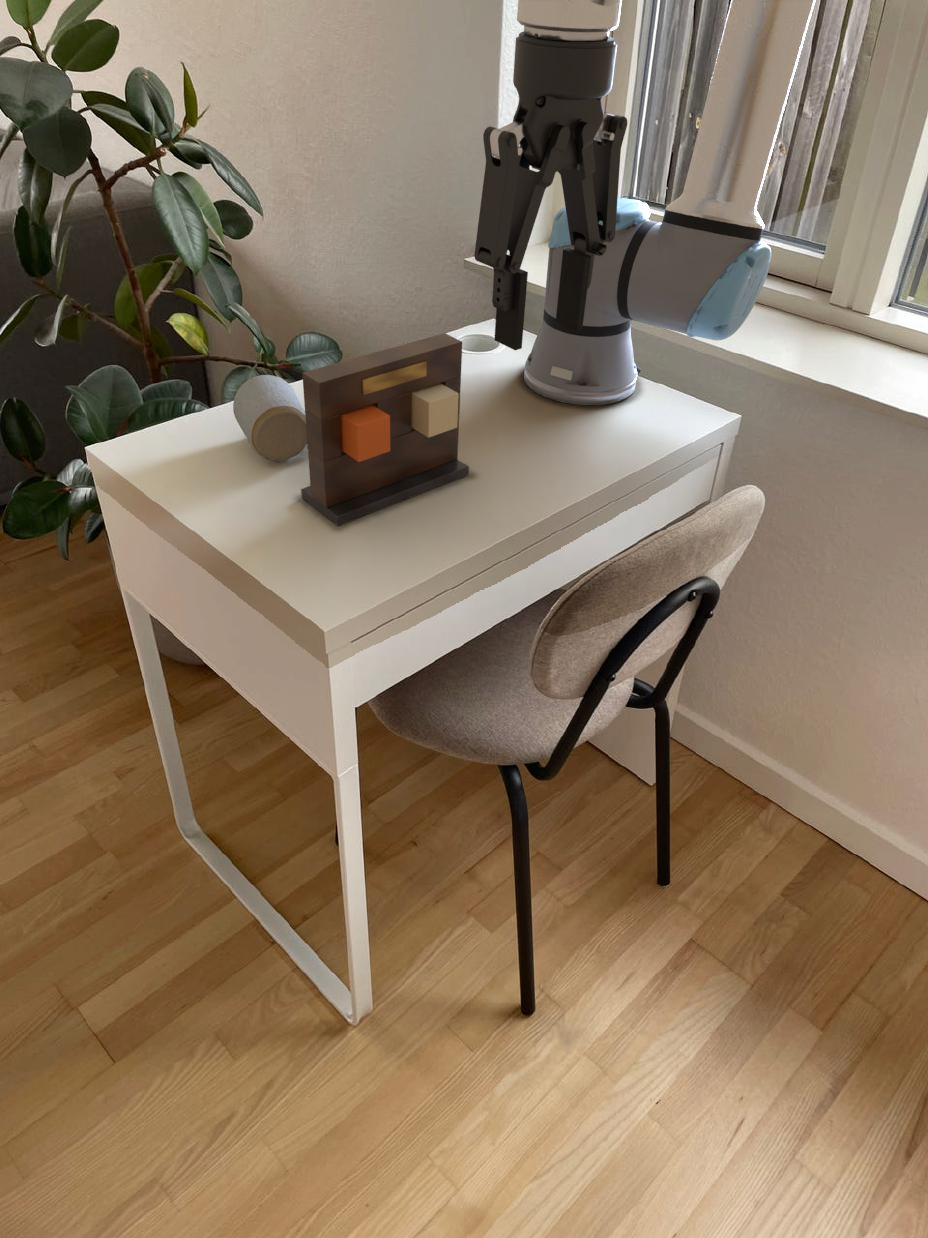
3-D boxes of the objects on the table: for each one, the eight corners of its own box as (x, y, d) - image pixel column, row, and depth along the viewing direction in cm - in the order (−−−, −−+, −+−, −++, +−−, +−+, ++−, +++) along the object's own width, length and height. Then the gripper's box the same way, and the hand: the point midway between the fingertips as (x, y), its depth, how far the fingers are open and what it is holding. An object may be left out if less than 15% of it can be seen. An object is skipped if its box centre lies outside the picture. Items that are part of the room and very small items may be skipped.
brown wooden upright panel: (430, 451, 111) (433, 326, 101) (468, 475, 107) (474, 347, 97) (301, 498, 101) (290, 365, 92) (337, 526, 97) (330, 390, 88)
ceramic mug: (254, 470, 106) (248, 407, 101) (235, 438, 111) (229, 377, 107) (342, 455, 110) (341, 394, 105) (320, 425, 115) (318, 366, 110)
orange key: (367, 436, 98) (366, 401, 96) (390, 451, 96) (390, 415, 94) (336, 446, 96) (334, 411, 94) (358, 462, 94) (357, 426, 91)
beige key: (434, 414, 103) (435, 379, 101) (457, 427, 101) (458, 393, 98) (405, 423, 101) (405, 389, 98) (428, 437, 99) (429, 402, 96)
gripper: (501, 45, 61) (483, 375, 76) (692, 31, 72) (644, 324, 86) (430, 31, 66) (425, 345, 80) (619, 20, 76) (585, 300, 90)
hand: (539, 334), depth 83 cm, fingers open, 7 cm apart
